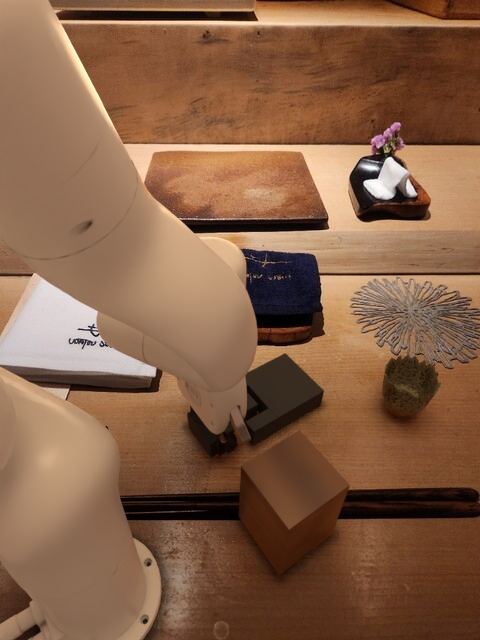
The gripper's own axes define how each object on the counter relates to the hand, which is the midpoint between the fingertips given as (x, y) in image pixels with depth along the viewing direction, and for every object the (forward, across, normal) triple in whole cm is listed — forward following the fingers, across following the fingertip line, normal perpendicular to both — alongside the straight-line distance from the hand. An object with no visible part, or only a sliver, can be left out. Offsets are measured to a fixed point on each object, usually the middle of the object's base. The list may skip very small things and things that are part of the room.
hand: (214, 431), depth 64 cm
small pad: (+1, 0, +2) cm, 2 cm away
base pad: (+1, 0, +10) cm, 10 cm away
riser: (+1, +16, 0) cm, 16 cm away
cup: (+1, +12, +25) cm, 28 cm away
